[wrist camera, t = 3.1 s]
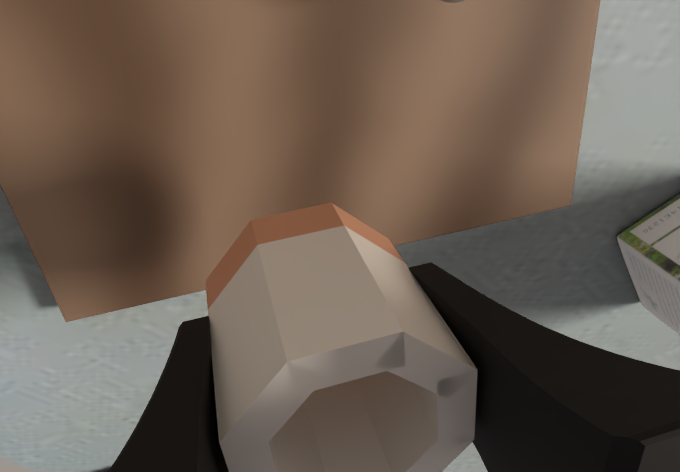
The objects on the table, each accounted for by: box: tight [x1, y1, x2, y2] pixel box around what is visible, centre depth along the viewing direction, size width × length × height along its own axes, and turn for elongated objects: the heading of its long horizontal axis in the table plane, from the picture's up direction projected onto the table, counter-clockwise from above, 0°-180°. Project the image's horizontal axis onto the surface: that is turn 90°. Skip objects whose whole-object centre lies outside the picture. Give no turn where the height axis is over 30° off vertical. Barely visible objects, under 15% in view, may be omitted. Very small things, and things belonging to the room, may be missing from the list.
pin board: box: [0, 0, 600, 322], centre depth 16 cm, size 20×14×5 cm
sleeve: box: [206, 203, 477, 472], centre depth 12 cm, size 5×5×5 cm
